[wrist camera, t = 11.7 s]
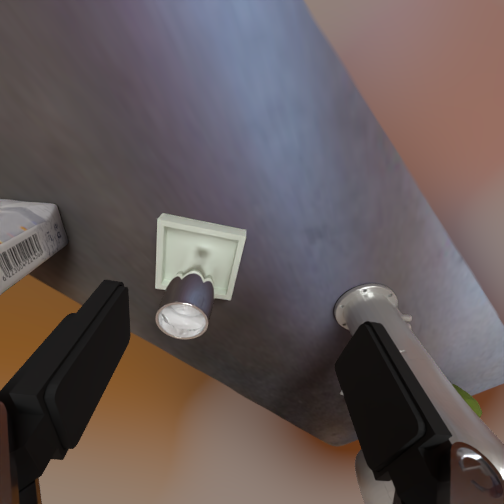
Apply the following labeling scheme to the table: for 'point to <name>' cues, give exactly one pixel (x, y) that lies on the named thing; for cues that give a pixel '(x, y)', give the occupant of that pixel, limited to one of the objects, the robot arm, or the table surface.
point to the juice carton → (27, 238)
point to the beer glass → (189, 295)
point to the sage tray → (191, 233)
